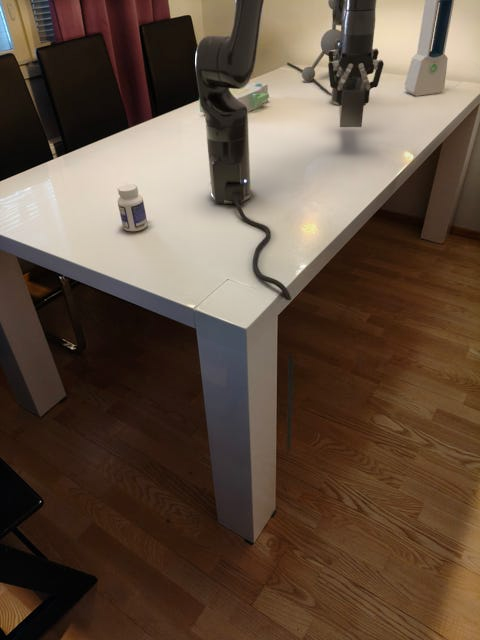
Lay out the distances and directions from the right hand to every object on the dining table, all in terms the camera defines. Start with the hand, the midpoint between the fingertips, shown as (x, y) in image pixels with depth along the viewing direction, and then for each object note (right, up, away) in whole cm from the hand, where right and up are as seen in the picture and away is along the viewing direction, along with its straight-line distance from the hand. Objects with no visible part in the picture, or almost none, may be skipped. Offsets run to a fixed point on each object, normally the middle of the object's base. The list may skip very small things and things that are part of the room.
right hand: (350, 89), depth 141 cm
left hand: (-2, -10, -13) cm, 16 cm away
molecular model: (+4, +35, +65) cm, 74 cm away
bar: (-1, -9, -3) cm, 9 cm away
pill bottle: (-55, -47, -36) cm, 80 cm away
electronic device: (+36, +18, +40) cm, 57 cm away
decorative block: (-34, +10, +35) cm, 50 cm away
